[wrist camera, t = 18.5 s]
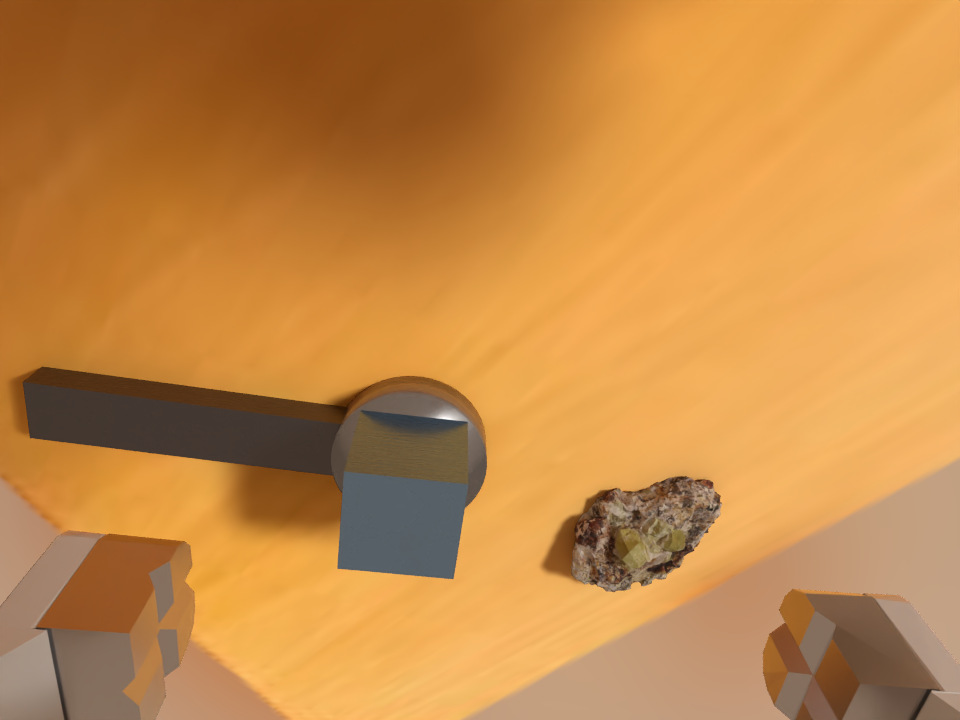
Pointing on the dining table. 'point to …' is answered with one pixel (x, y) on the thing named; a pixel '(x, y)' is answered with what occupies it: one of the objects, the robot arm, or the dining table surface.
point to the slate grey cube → (404, 495)
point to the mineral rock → (642, 532)
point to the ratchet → (233, 420)
